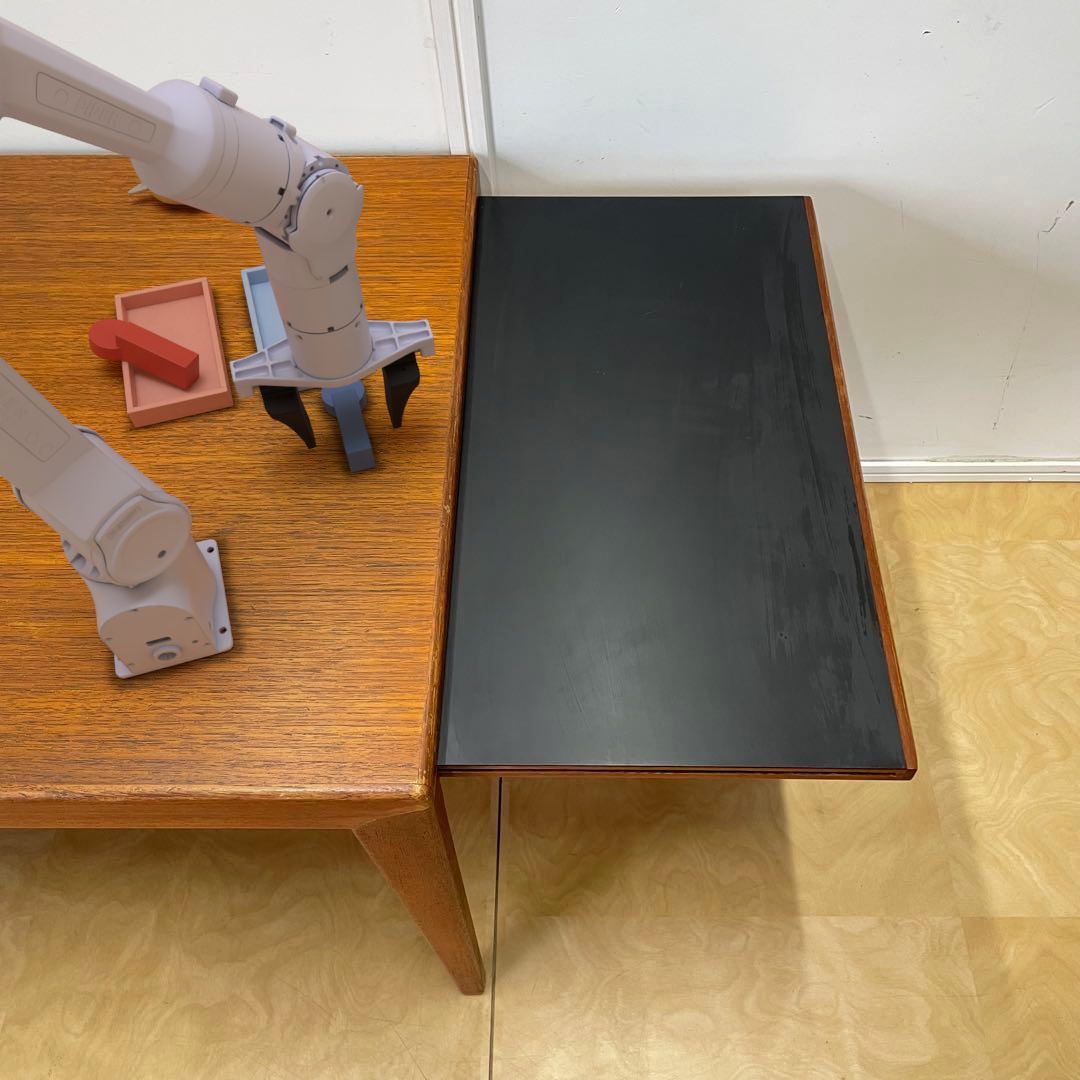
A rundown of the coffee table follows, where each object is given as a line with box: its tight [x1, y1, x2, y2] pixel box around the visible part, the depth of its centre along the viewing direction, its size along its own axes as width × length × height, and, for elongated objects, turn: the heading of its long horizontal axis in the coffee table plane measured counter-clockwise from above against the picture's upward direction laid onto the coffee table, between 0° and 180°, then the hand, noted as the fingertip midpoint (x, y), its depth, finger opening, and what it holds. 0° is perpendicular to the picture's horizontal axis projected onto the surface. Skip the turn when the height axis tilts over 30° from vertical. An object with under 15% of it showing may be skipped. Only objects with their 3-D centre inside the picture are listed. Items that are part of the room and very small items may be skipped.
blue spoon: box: [320, 379, 377, 473], centre depth 75 cm, size 9×4×3 cm, turn 18°
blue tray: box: [240, 265, 316, 392], centre depth 81 cm, size 14×8×2 cm, turn 18°
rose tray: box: [114, 276, 235, 429], centre depth 79 cm, size 14×8×2 cm, turn 18°
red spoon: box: [87, 318, 199, 389], centre depth 76 cm, size 9×4×3 cm, turn 68°
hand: (353, 429), depth 74 cm, fingers open, 6 cm apart
